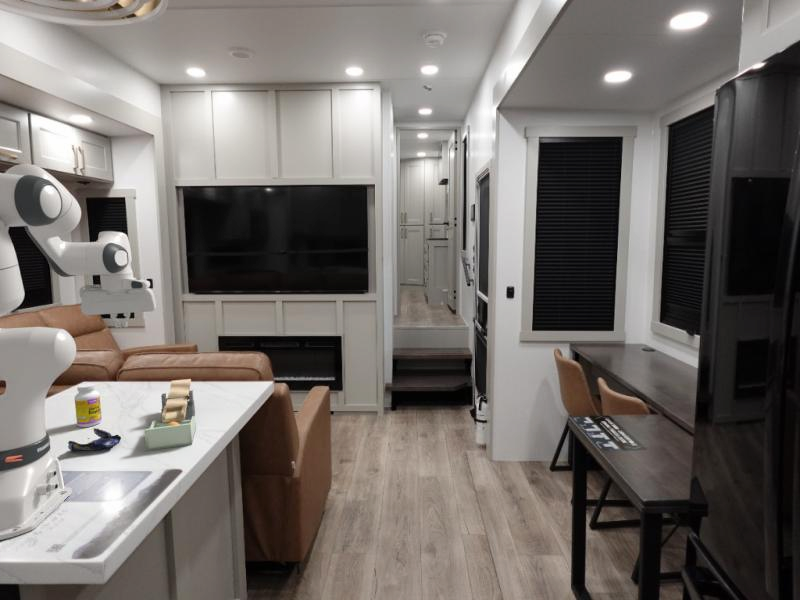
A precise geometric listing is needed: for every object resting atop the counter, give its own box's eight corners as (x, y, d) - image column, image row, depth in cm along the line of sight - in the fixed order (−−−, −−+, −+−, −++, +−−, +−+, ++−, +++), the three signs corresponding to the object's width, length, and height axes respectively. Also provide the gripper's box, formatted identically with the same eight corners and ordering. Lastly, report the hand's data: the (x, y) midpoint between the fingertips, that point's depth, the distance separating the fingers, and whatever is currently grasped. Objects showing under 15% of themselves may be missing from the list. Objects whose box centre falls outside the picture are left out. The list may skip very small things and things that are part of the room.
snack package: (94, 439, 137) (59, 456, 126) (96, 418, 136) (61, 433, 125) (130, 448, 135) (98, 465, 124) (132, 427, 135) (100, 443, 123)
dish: (191, 444, 131) (190, 424, 130) (146, 451, 127) (144, 430, 127) (195, 428, 143) (194, 409, 142) (154, 433, 139) (152, 414, 139)
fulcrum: (193, 421, 149) (191, 394, 148) (162, 425, 146) (160, 397, 145) (195, 414, 155) (193, 388, 154) (165, 418, 152) (163, 392, 151)
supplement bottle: (89, 428, 144) (85, 388, 143) (72, 427, 146) (67, 387, 144) (107, 420, 151) (103, 382, 150) (90, 419, 152) (86, 381, 151)
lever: (186, 425, 141) (184, 412, 139) (162, 428, 139) (160, 415, 137) (192, 386, 162) (191, 374, 161) (171, 388, 160) (170, 376, 159)
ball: (180, 421, 141) (180, 433, 139) (167, 423, 139) (167, 434, 138) (178, 419, 137) (178, 431, 136) (165, 421, 136) (165, 433, 135)
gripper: (75, 285, 138) (80, 331, 140) (151, 282, 145) (155, 326, 146) (82, 284, 144) (86, 328, 146) (155, 281, 151) (158, 323, 152)
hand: (121, 327), depth 146 cm, fingers closed
